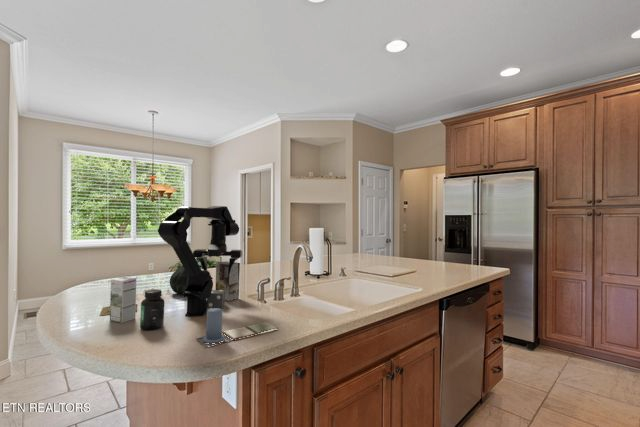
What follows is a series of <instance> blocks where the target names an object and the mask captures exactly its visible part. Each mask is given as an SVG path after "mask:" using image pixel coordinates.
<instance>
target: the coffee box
mask: <svg viewBox="0 0 640 427" xmlns="http://www.w3.org/2000/svg"><path fill="white" fill-rule="evenodd" d="M228 269H229V261H227V260H226V261H221V262H216V263H215V290H225V301H226V300H227V301H226V302H231V301H234V300H233V299H235V300H238V299H237V298H240V272H241V271H240V269H241V263H240V262H236V261H235V262H234V264H233V267H232V269H231V272H230V274H229V275H228ZM230 300H231V301H230Z"/></svg>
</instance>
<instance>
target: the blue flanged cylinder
mask: <svg viewBox="0 0 640 427" xmlns="http://www.w3.org/2000/svg"><path fill="white" fill-rule="evenodd" d="M205 332H206V334H205V335H203V336H204V337H203V336H202V337H203V338H202V339H203V340H202V342H203V343H204V344H205V343H209V344H208V345H211V344H212V343H219V342H221V341H223V340H224V341H225V337H224V335H223V334H222V332H223V308H222V309H220V308H212V309H208V310H207V312H206V331H205ZM224 341H223V342H224Z"/></svg>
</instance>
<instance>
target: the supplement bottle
mask: <svg viewBox="0 0 640 427" xmlns="http://www.w3.org/2000/svg"><path fill="white" fill-rule="evenodd" d="M139 320H140V322H139V328H140V330H141V331H143V332H144V331H145V332H150V331H157V330H160V329H162V328H163V327H164V324H165V299H164V298H162V290H161V289H148V290H145V291H144V299H143V300H142V301H141V302H140V319H139Z"/></svg>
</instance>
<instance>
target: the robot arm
mask: <svg viewBox="0 0 640 427" xmlns="http://www.w3.org/2000/svg"><path fill="white" fill-rule="evenodd" d="M193 218H207V219H208V220H211V221H210V222H208V223H207V226H211V228H210V230H211V232H210V234H211V235H210V236H211V238H210V244H209V245H208V247H207V249H206V248H196V249H194V250H193V251H192V249H191V246H190V245H189V243H188V241H187V239H188V231H187V230H188V229H189V227H190V226H191V223H192V222H191V220H192V219H193ZM180 220H181V221H180ZM239 231H240V227H239V224H238V223H236V219H234V218H233V217H232V214H231V212H230V210H229V209H228V206H223V205H212V206H207V207H192V206H180V207H177V209H176V210H174V212H173V213H171V214H170V215H168V216H167V217H165V219H164V220H163V221H161V222H160V224H159V225H158V229H157V233H158V235H159V237H160V238H161V239H162V240H163V241H164V242H165V243H167V244H168V245H169V246H171V248H172V249H173V251H174V252H175V254H176V257H177V258H178V259H179V262H180V264H181V265H182V267H184V269H185V271H186V272H187V274H188V280H187V283H188V285H187V287H186V288H185V290H184V291H183V293H182V296H183V297H184V298H187V300H186V301H187V302H186V313H185V317H202V316H204V315H206V314H207V310H209V309H208V300H207V298H209V297H210V295H211V292H212V290H213V286H214V281H213V279H214V278H213V277H212V276H211V273H210V271H209V270H208V257H210V258H212V257H217V258H218V257H219V258H220V257H223V256H224V257H225V256H226V257H230V258H229V261H228V262H229V269H228V275H229V274H230V272H231V269H232V267H233V264H234V262H235V263H236V261H237V260H238V259H240V258H242V257H243V251H242V250H241V249H231V250H230V251H228V246H227V243H226V242H227V237H228V236H236V235H238V234H239ZM197 260H198V261H199V262H200V264H201V266H202V268H201V266H200V265H199V263H198V261H197ZM194 292H198V293H194Z"/></svg>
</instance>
